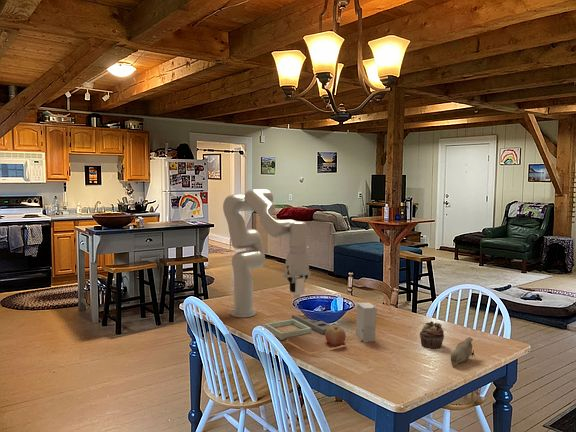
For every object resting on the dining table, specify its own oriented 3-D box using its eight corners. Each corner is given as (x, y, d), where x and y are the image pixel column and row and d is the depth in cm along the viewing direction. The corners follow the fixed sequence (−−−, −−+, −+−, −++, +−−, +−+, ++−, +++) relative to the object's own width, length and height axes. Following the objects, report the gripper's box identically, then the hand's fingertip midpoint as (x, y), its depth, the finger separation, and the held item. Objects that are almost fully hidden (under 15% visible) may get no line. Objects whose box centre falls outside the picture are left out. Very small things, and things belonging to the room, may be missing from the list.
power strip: (286, 318, 232) (286, 310, 231) (298, 316, 235) (298, 308, 235) (322, 336, 205) (323, 328, 205) (336, 334, 209) (336, 326, 208)
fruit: (329, 349, 190) (329, 330, 189) (322, 342, 198) (323, 324, 197) (348, 347, 192) (348, 328, 191) (340, 341, 200) (341, 322, 199)
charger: (290, 296, 210) (290, 277, 210) (297, 295, 212) (298, 276, 212) (296, 299, 206) (296, 279, 205) (303, 298, 208) (304, 278, 207)
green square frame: (264, 330, 212) (264, 323, 212) (293, 325, 220) (293, 319, 220) (281, 340, 200) (281, 333, 199) (311, 334, 207) (311, 328, 207)
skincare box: (355, 336, 206) (356, 302, 205) (368, 335, 208) (369, 301, 206) (362, 342, 198) (363, 307, 197) (376, 341, 200) (377, 306, 198)
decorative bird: (445, 366, 175) (446, 346, 174) (462, 354, 187) (463, 335, 186) (460, 370, 171) (461, 349, 171) (476, 357, 183) (477, 338, 182)
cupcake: (445, 344, 197) (446, 320, 196) (440, 351, 188) (441, 327, 188) (422, 340, 202) (423, 317, 201) (416, 347, 193) (417, 323, 192)
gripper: (308, 247, 215) (307, 287, 217) (276, 249, 206) (276, 291, 208) (318, 249, 209) (317, 290, 210) (286, 252, 200) (285, 295, 202)
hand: (296, 290), depth 209 cm, fingers closed on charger, 4 cm apart
